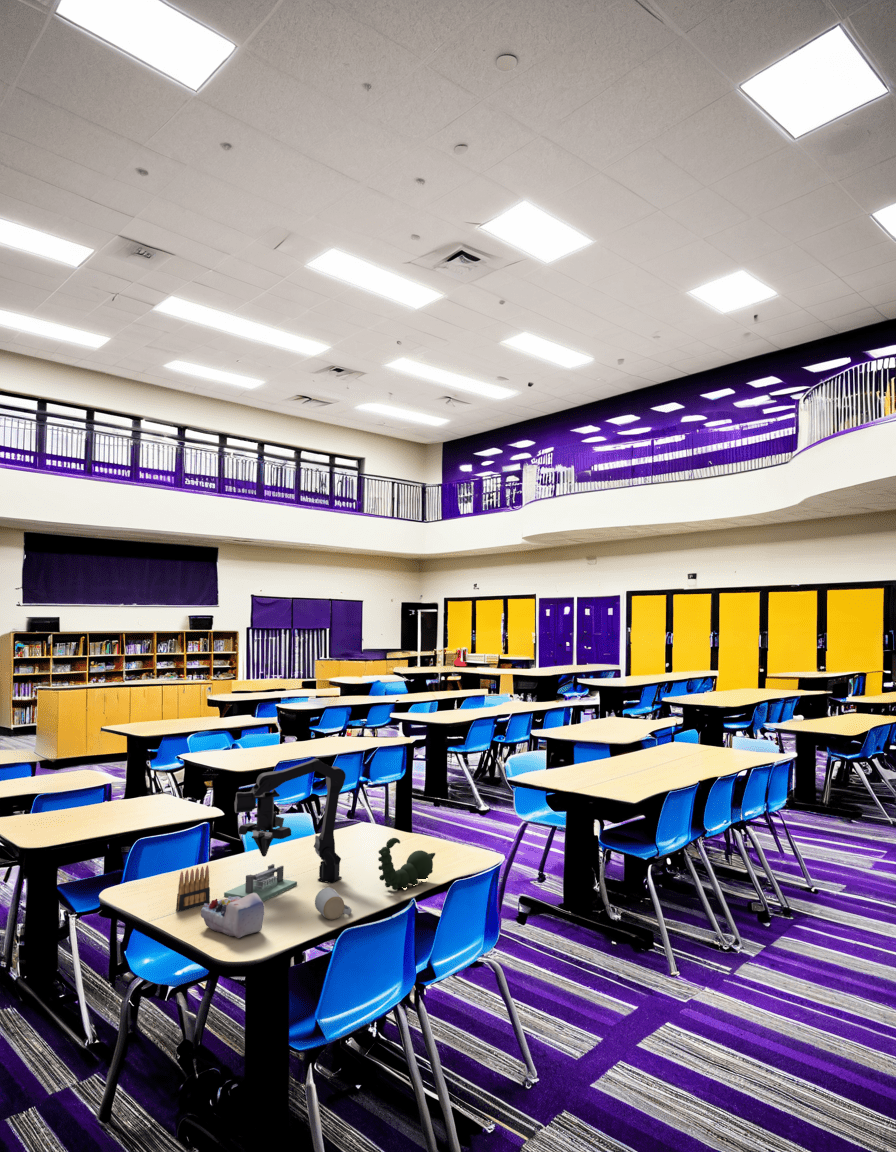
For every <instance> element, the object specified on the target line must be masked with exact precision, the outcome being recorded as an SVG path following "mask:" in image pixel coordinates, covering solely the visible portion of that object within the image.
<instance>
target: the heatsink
mask: <svg viewBox="0 0 896 1152" xmlns="http://www.w3.org/2000/svg"><path fill="white" fill-rule="evenodd" d="M276 885H277V875H274V876H272V875H267V876H265V877H262V878H259V879H257V880H253V890H255V891H260V892H263V891H265V890H267V889H269V888H272V887H274V886H276Z"/></svg>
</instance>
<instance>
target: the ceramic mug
mask: <svg viewBox="0 0 896 1152" xmlns="http://www.w3.org/2000/svg"><path fill="white" fill-rule="evenodd" d="M314 907H315V909H316V910H317V911H318V912H319V913H320V915H322V917H324V918H325V919H328V920H331V921H334V920H337V919H338V918H340V917H341V916H342V915H347V916H349V915H351V912H352V908H351V907H350V906H348V905H346V904H345V901H344V899H343V898H342V896H340V894H339V893H338V892H337V891H336V890H335V889H334V888H333V887H324V888H322V889H320V890H319V891H318V893H317V894H316V896H315V899H314Z"/></svg>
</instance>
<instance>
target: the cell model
mask: <svg viewBox="0 0 896 1152" xmlns="http://www.w3.org/2000/svg"><path fill="white" fill-rule="evenodd" d="M200 916H201V918H202V919H203V921H204V924H205V925H206V927H207V928H209V929H211V930H212V931H214V932H218V933H223V934H224V935H227V936H229V937H235V938H238V939H240V938H243V937H244V936H246V935H250V934H255V933H259V932H261V931H262V930H263V925H264V924H263V923H264V916H265V905H264V901H263V902H262V900H261V899H260V897H259V896H258V894H257V893H251V894H249V895H247V896H245V897H243V898H240V897H239V896H236V897H230V896H229V897H226V898H223V899H219V900H218V899H217V898H215V899H212V900H210V903H209V904H206V903H205V904H204V905H203V906H202V908H201V909H200Z"/></svg>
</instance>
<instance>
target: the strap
mask: <svg viewBox="0 0 896 1152" xmlns="http://www.w3.org/2000/svg"><path fill="white" fill-rule="evenodd" d="M272 873H274V874H275V873H277V867H274V868H271V869H269V870H268V869H267V870H264V871H261V872H258V873H255V874H254V875H256V877H255V878H253V880H257V879H259V878H262V877H265V876H267V875H270V874H272Z"/></svg>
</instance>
